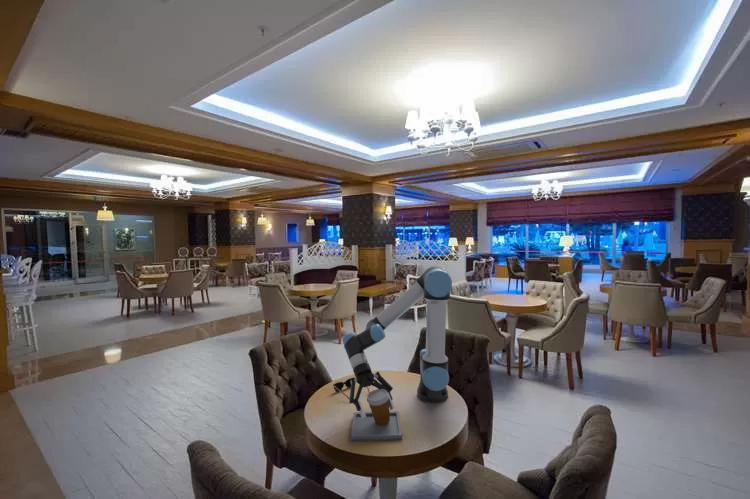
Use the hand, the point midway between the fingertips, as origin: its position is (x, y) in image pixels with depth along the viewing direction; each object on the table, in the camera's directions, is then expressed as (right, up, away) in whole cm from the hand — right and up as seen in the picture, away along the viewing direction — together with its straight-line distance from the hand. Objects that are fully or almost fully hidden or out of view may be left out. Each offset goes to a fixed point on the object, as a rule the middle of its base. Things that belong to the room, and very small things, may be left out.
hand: (378, 413), depth 145 cm
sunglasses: (-13, -6, +34) cm, 37 cm away
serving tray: (-1, -7, +2) cm, 8 cm away
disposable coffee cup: (+2, -5, +5) cm, 8 cm away
